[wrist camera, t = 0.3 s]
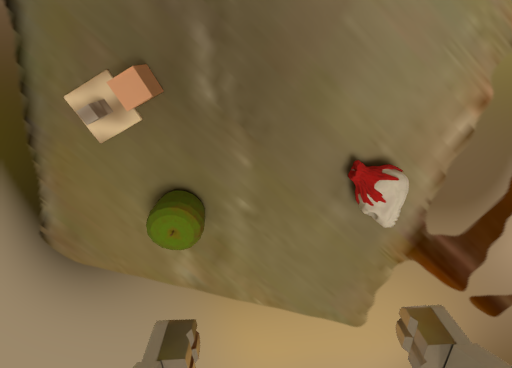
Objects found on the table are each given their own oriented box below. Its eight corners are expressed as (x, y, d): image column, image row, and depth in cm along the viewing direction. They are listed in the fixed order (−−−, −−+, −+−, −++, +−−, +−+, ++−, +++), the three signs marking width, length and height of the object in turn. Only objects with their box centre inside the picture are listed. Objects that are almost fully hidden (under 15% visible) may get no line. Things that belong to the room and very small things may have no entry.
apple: (151, 218, 63) (134, 249, 53) (165, 178, 59) (149, 203, 49) (198, 234, 65) (189, 266, 55) (215, 197, 61) (208, 225, 51)
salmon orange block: (123, 78, 50) (106, 82, 44) (146, 64, 49) (132, 65, 43) (141, 104, 52) (127, 111, 46) (164, 91, 51) (152, 96, 45)
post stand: (65, 96, 51) (42, 101, 46) (108, 69, 50) (89, 71, 44) (101, 142, 55) (85, 153, 50) (142, 119, 53) (130, 127, 48)
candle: (378, 217, 64) (327, 180, 61) (416, 180, 60) (362, 140, 57) (392, 239, 55) (334, 197, 53) (438, 197, 51) (376, 151, 49)
